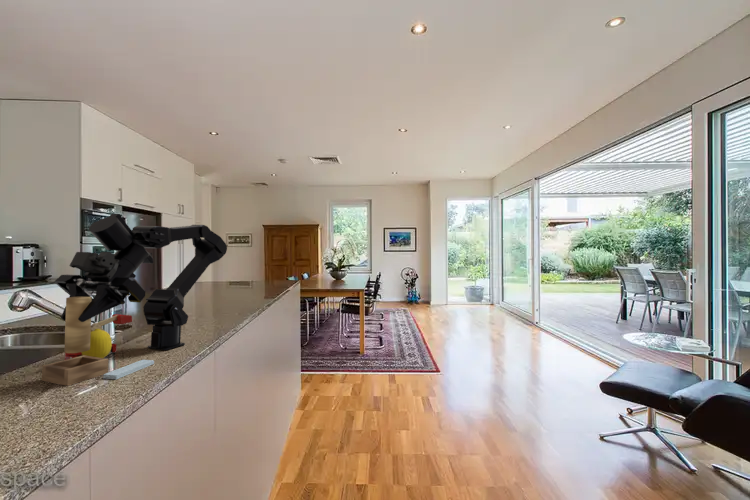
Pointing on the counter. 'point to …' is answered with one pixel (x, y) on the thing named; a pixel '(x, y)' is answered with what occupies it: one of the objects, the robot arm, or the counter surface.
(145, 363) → the plate
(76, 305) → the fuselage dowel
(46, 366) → the square wooden tray
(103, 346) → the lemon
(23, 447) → the counter surface
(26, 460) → the counter surface
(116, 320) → the toy fire truck
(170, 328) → the robot arm
